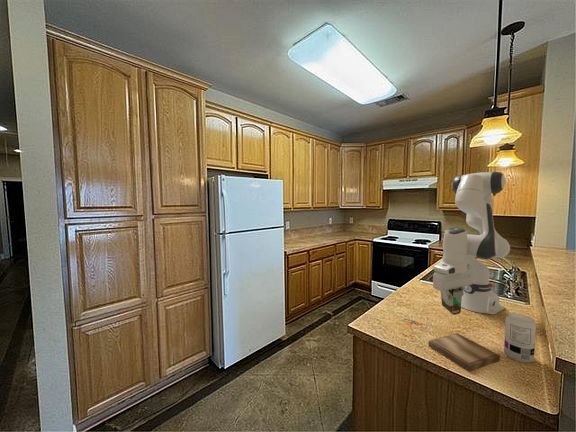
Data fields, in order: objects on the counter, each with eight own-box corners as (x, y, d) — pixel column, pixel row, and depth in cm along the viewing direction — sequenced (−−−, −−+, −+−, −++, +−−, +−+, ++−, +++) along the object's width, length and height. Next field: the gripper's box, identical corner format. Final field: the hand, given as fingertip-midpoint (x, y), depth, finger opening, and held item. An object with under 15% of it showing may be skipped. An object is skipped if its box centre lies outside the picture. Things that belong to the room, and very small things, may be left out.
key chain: (399, 323, 118) (399, 322, 118) (405, 318, 123) (405, 316, 123) (429, 333, 109) (429, 332, 109) (434, 327, 114) (434, 325, 114)
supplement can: (498, 350, 96) (500, 313, 95) (517, 349, 97) (519, 312, 96) (519, 364, 88) (521, 323, 87) (540, 363, 89) (543, 322, 88)
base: (456, 337, 105) (456, 332, 105) (499, 360, 90) (500, 354, 90) (428, 345, 100) (428, 340, 100) (469, 371, 85) (469, 365, 85)
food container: (470, 316, 102) (470, 292, 101) (454, 316, 103) (454, 292, 102) (454, 303, 114) (454, 282, 114) (440, 303, 115) (439, 282, 114)
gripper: (463, 261, 113) (462, 290, 114) (430, 267, 106) (429, 298, 107) (478, 264, 107) (477, 295, 108) (444, 271, 100) (443, 304, 101)
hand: (453, 297), depth 108 cm, fingers closed on food container, 6 cm apart
